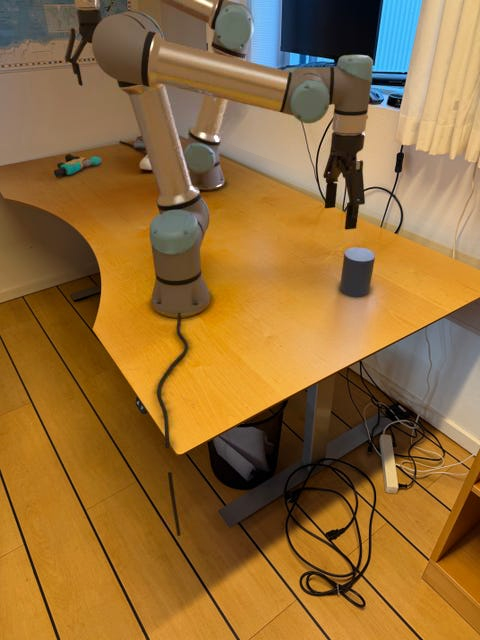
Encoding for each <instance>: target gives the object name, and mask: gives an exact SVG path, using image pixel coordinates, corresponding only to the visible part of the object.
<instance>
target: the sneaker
mask: <svg viewBox="0 0 480 640" xmlns="http://www.w3.org/2000/svg"><path fill="white" fill-rule="evenodd" d="M139 169H141V170H144V171H152V168H151V164H150V161H149V158H148V155H145V156H144V157H143V158H142V159H141V160H140V162H139Z"/></svg>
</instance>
